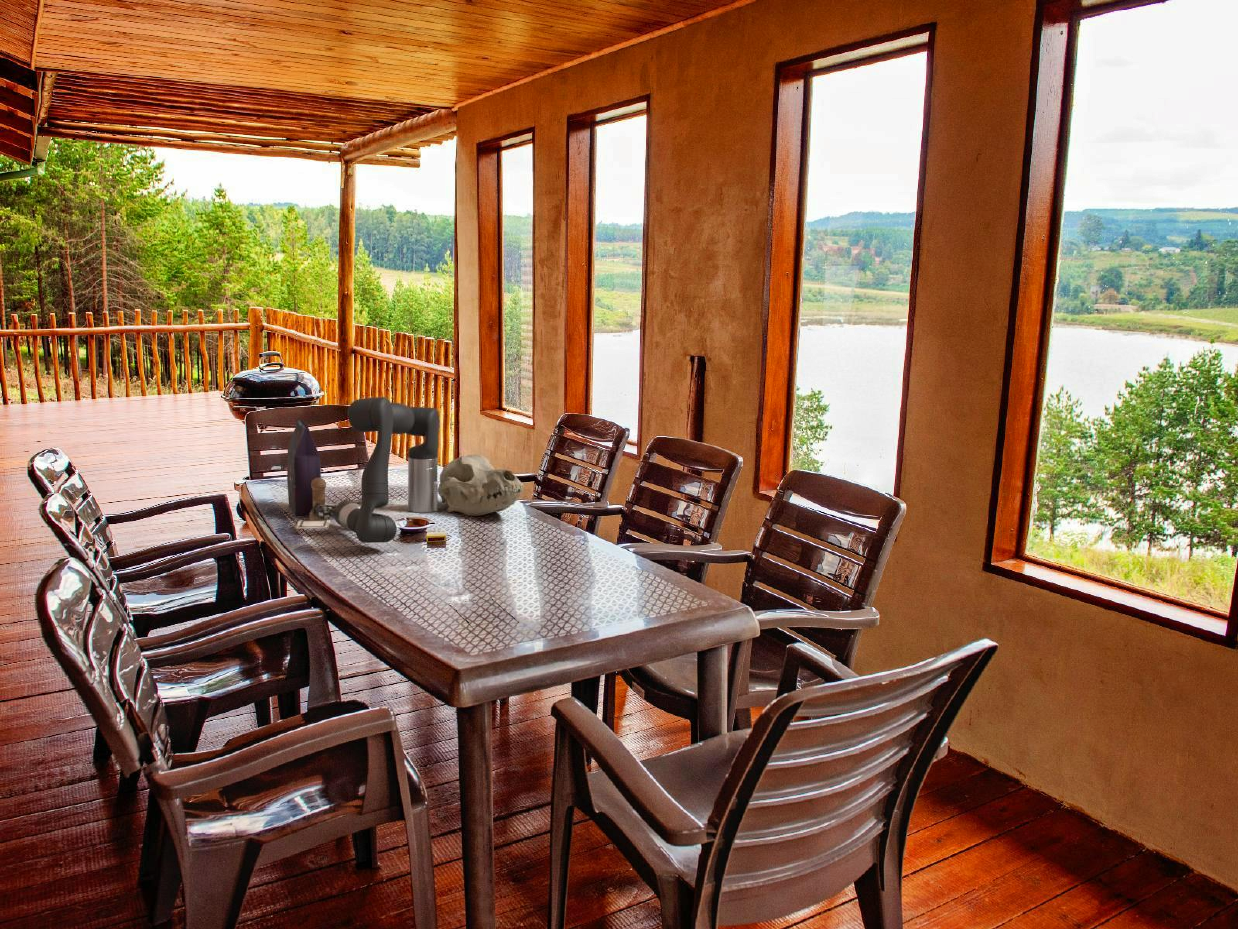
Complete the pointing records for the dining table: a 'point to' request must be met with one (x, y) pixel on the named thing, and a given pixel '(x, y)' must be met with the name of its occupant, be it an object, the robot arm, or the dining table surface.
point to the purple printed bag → (302, 470)
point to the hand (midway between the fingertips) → (331, 504)
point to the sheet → (313, 524)
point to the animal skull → (477, 486)
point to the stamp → (318, 495)
